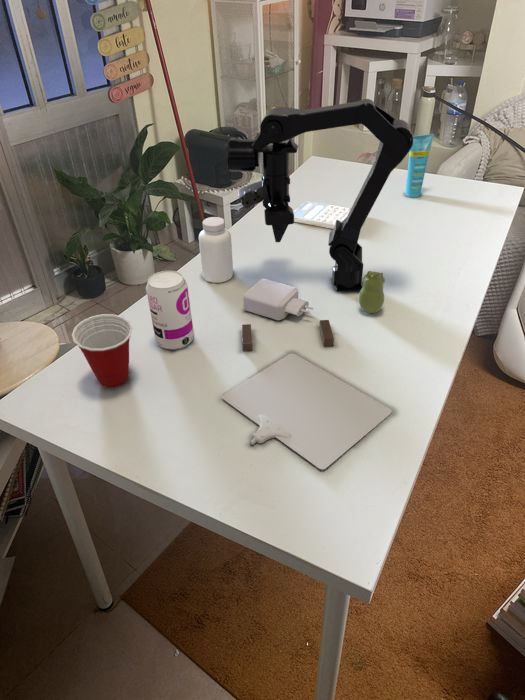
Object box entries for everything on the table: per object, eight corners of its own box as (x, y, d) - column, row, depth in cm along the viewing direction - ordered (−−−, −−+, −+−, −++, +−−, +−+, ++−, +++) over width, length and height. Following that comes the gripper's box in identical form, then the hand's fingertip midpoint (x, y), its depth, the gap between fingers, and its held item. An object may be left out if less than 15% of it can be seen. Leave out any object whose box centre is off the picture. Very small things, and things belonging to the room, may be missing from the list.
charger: (301, 330, 116) (244, 312, 122) (320, 310, 122) (264, 293, 128) (302, 312, 113) (243, 294, 119) (321, 292, 119) (264, 276, 126)
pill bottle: (229, 284, 132) (225, 228, 123) (198, 282, 134) (192, 226, 125) (237, 269, 138) (233, 215, 129) (207, 267, 140) (201, 213, 131)
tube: (405, 199, 173) (414, 137, 161) (399, 193, 176) (407, 133, 165) (426, 196, 174) (436, 135, 162) (419, 191, 178) (429, 131, 166)
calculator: (349, 232, 154) (350, 226, 153) (288, 221, 162) (287, 215, 160) (365, 215, 163) (365, 209, 162) (306, 205, 171) (306, 199, 170)
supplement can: (200, 332, 116) (192, 272, 107) (183, 354, 110) (174, 292, 101) (167, 326, 119) (157, 266, 109) (149, 347, 112) (137, 286, 103)
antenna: (204, 409, 97) (203, 405, 96) (291, 354, 110) (292, 350, 109) (305, 487, 82) (306, 482, 82) (393, 413, 95) (394, 408, 95)
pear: (355, 314, 120) (359, 276, 114) (360, 302, 124) (364, 264, 118) (380, 319, 118) (385, 280, 112) (384, 306, 122) (389, 268, 116)
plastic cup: (115, 404, 99) (101, 354, 91) (74, 385, 103) (58, 335, 96) (154, 372, 106) (144, 323, 99) (114, 355, 111) (102, 307, 103)
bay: (328, 327, 116) (328, 319, 115) (333, 346, 111) (333, 338, 110) (242, 332, 116) (241, 324, 115) (242, 351, 110) (242, 343, 109)
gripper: (238, 159, 123) (242, 222, 133) (240, 189, 108) (244, 257, 118) (286, 157, 124) (286, 220, 133) (294, 186, 109) (294, 255, 118)
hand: (277, 237), depth 126 cm, fingers open, 5 cm apart
